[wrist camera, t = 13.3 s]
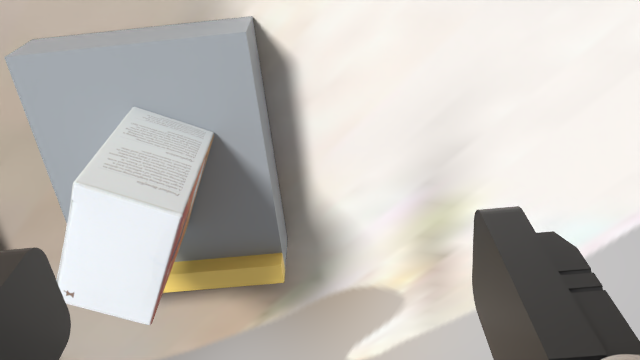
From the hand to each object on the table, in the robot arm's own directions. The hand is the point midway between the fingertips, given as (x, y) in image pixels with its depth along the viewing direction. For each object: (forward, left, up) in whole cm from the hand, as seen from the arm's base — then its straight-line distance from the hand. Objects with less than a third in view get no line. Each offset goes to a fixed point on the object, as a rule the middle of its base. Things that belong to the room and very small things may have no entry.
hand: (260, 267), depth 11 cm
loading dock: (+11, -11, -30) cm, 34 cm away
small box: (+11, -11, -26) cm, 30 cm away
